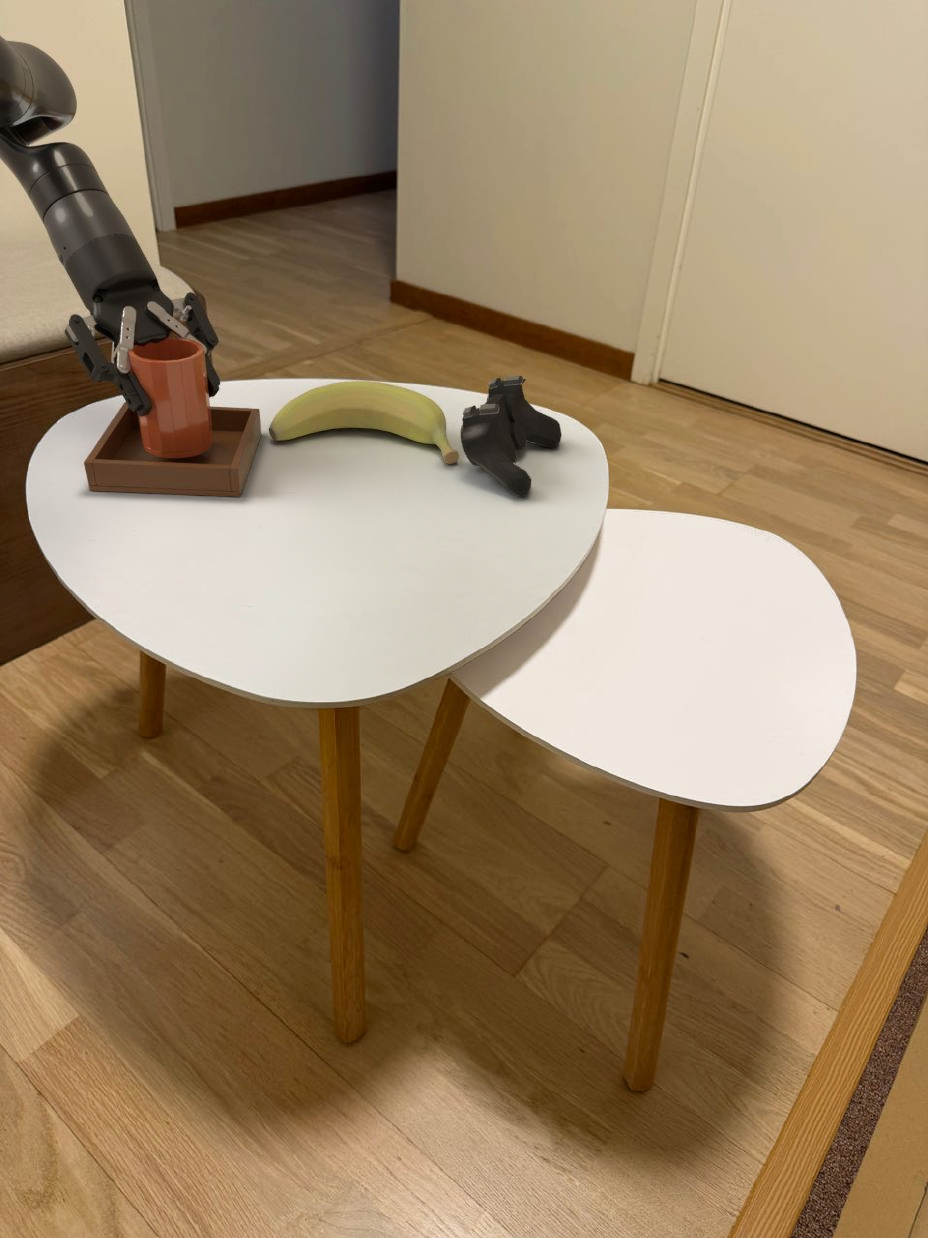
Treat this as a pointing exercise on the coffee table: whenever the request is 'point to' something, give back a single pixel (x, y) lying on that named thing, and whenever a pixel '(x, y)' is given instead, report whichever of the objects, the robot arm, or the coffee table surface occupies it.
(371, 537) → the coffee table surface
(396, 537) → the coffee table surface
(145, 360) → the cup
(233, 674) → the coffee table surface
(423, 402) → the banana
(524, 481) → the chunky heeled booties
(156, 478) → the tray
